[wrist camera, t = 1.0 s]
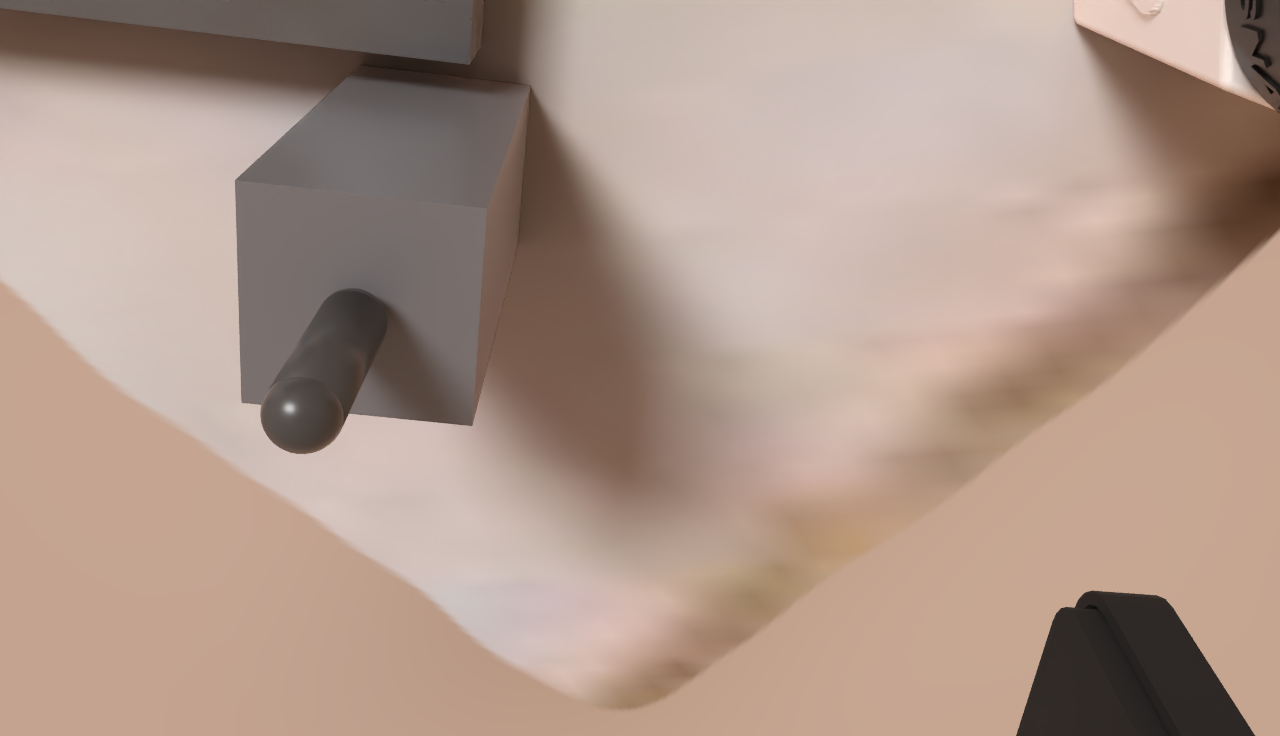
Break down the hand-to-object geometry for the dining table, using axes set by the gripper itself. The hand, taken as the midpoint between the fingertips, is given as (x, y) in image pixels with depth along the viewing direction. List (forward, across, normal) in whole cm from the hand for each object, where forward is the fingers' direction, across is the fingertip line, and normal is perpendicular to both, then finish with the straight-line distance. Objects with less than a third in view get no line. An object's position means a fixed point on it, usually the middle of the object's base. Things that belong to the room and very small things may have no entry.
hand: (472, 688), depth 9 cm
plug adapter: (+27, +4, +4) cm, 28 cm away
